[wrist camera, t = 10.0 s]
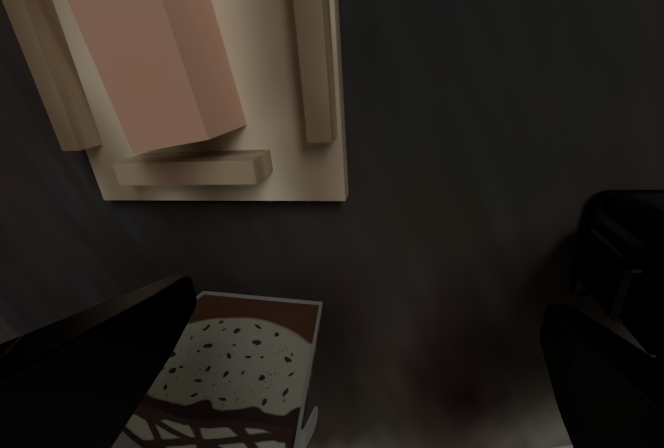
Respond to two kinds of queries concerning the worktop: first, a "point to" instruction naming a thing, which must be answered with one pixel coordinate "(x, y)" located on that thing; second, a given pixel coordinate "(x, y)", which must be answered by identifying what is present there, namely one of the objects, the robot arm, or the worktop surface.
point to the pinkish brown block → (162, 69)
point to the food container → (233, 378)
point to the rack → (224, 150)
